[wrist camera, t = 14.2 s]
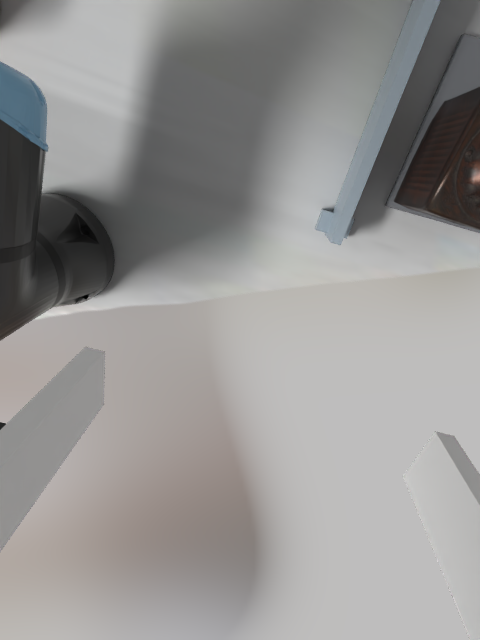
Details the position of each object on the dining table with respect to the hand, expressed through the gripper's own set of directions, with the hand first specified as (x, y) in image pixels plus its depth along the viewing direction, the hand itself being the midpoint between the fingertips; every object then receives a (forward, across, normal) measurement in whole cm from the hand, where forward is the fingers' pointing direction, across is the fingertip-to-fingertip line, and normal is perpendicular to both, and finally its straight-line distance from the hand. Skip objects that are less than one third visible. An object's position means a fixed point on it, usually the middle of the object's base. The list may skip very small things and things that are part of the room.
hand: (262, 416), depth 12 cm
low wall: (+32, +8, +16) cm, 36 cm away
